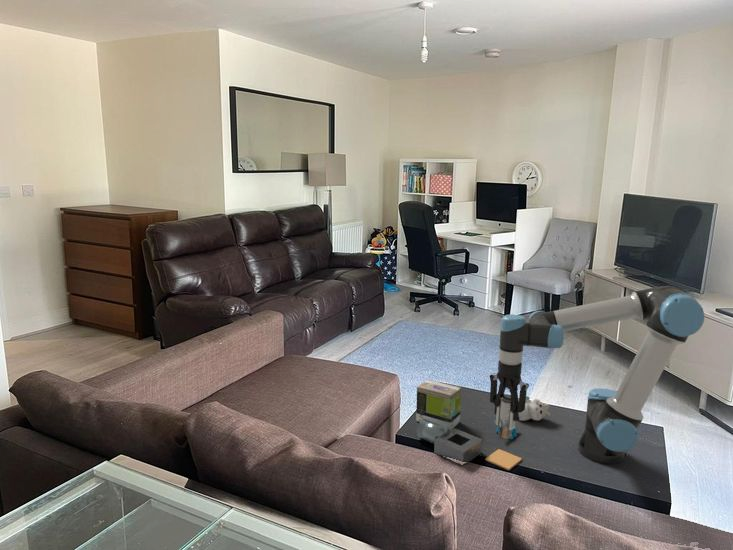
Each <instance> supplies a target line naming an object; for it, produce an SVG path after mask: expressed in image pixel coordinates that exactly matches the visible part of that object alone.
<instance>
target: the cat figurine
mask: <svg viewBox="0 0 733 550" xmlns="http://www.w3.org/2000/svg"><path fill="white" fill-rule="evenodd" d="M518 400H519V397H518ZM550 407H551V406H550V404H549V403H544V402H543V401H541V400H540V399H538V398H533V399H532V400H530V396H527V395H526V402H525V410H524V411H522V412H521V413H519V416H518V421H520V422H527V421H529V420H532V421H540V420H542V419H544V418H545V417H551V413H550V412H549V410H548V409H550Z"/></svg>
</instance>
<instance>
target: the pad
mask: <svg viewBox="0 0 733 550" xmlns="http://www.w3.org/2000/svg"><path fill="white" fill-rule="evenodd" d="M485 461H486V462H488V463H490V464H493V465H495V466H498V467H500V468H502V469H503V470H507V471H510V470H512V469H513V468H514V467H515V466H517V465H518V464H520V462H521V461H523V458H522V457H520V456H517V455H515V454H512V453H510V452H508V451H505V450H503V449H500V448H498V449H497V450H495V451H494V452H492V453H491V454H490V455H488V456H487V457H486V458H485Z"/></svg>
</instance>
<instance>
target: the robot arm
mask: <svg viewBox="0 0 733 550" xmlns="http://www.w3.org/2000/svg"><path fill="white" fill-rule="evenodd" d="M631 319H638V320H640V321H643V320H647V321H646V324H645V328H646V331H647V333H646V335H645V337H644V339H643V341H642V342H641V345H640V347H639V348H638V351H637V352H636V355H635V356H634V357H633V360H632V362H631V363H630V366H629V368H628V369H627V371H626V373H625V375H624V377H623V378H622V381H621V383H620V385H619V386H618V389H617V390H614V389H609V388H599V387H598V388H592V389H591V390H590V391H588V396H587V406H586V416H585V423H584V424H585V425H584V430H583V431H582V433H581V435H580V437H579V439H578V442H577V449H578V452H579V453H580V454H581V455H582V456H583V457H586V458H587V459H590V460H592V461H595V462H598V463H602V464H618V463H620V462H622V461H623V460H624V458H625V451H630V450H631V449H633V448H634V447H636V445H637V443H638V441H639V438H640V437H639V431H638V429H639V427H640V425H641V424H642V421H643V420H644V415H643V413H642V410H643V408H644V406H645V405H646V403H647V401H648V399H649V397H650V395H651V393H652V391H653V389H654V388H655V386H656V384H657V382H658V381H659V379H660V378H661V375H662V374H663V372H664V369H665V368H666V367H667V364H668V362H669V361H670V358H671V357H672V355H673V353H674V351H675V350H676V348H677V346H679V345H682V344H685V343H686V341H687V340H688V338H689V336H692V335H695V334H696V333H698V332H699V331H700V329H701V328H702V326H703V325H704V322H705V311H704V309H703V307H702V305H701V304H700V303H699V301H698V300H697V299H696V298H694V296H691V295H690V294H688V293H686V292H684V291H682V290H681V289H680V288H678V287H675V286H669V285H665V286H664V285H662V286H657V287H656V286H655V287H650V288H646V289H641V290H635V291H632V292H631V294H630V295H626V296H622V297H616V298H611V299H607V300H602V301H596V302H592V303H586V304H582V305H577V306H571V307H567V308H566V307H565V308H563V309H557V310H552V311H551V310H550V311H546V312H545V311H543V310H536V311H534V312H531V314H530V315H529V317H528V322H526V318H525V316H524V315H523V316H522V315H518V314H505V315H504V316H503V317H502V318H501V323H500V324H501V325H500V333H499V334H500V335H499V349H498V350H499V352H498V365H497V373H495V372H494V373H492V374H490V375H489V381H490V392H489V393H490V394H489V402H490V403H492V404H494V415H495V417H496V419H495V421H496V424H495V425H496V426H498V425H499V416H500V402H501V400H500V396H502V395H504V394H505V392H506V389H508V391H509V393H510V395H511V400H512V408H513V411H511V412H510V426H509V430H513V429H514V428H516V424H517V422H518V421H519V417H518V416H519V413H521V412H522V411H524V410H525V402H526V396H527V393H528V392H527V391H528V388H529V386H530V385H529V383H525V382H523V379H522V377H521V375H522V368H523V367H522V366H523V363H522V361H523V354H524V353H523V352H524V346H526V347H533V348H534V347H536V348H547V349H562V347H563V343H564V339H565V338H564V333H565V332H567V331H572V330H578V329H583V328H584V329H585V328H589V327H593V326H600V325H605V324H611V323H615V322H620V321H626V320H631ZM498 381H499V386H498ZM518 386H519V387H518ZM518 388H519V389H520V390H519V389H518ZM518 391H519V394H518ZM518 398H519V400H518Z"/></svg>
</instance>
